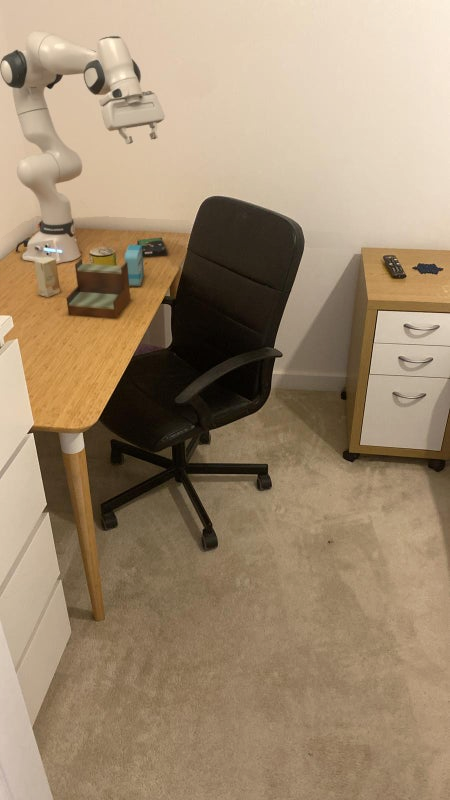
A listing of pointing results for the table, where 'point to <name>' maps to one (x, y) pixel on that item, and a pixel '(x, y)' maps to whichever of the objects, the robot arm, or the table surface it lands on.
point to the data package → (134, 264)
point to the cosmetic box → (47, 276)
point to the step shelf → (99, 291)
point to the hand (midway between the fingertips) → (142, 141)
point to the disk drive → (152, 247)
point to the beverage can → (103, 256)
